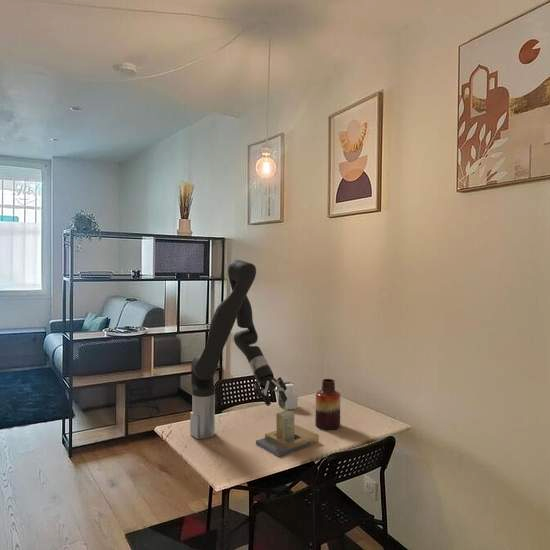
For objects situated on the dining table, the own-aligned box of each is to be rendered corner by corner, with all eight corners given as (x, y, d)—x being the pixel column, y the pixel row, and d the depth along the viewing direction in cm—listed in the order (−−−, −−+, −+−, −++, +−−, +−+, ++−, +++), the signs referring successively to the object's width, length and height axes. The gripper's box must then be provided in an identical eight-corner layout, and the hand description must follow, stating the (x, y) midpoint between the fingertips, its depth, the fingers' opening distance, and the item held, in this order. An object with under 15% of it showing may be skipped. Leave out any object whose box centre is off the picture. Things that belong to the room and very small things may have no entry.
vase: (328, 432, 188) (328, 385, 187) (310, 425, 196) (311, 379, 195) (345, 426, 195) (346, 381, 194) (327, 419, 203) (328, 375, 202)
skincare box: (287, 439, 181) (288, 409, 180) (294, 442, 177) (295, 412, 177) (275, 443, 177) (275, 412, 176) (282, 446, 173) (282, 415, 173)
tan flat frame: (278, 457, 165) (278, 449, 164) (255, 444, 175) (256, 436, 175) (318, 442, 178) (318, 435, 178) (295, 431, 189) (295, 424, 189)
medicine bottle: (278, 405, 221) (278, 382, 220) (291, 404, 224) (291, 380, 223) (284, 410, 214) (284, 386, 214) (297, 408, 217) (298, 384, 217)
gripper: (251, 366, 183) (268, 401, 174) (278, 362, 192) (295, 395, 183) (243, 376, 187) (259, 411, 178) (270, 371, 196) (286, 404, 187)
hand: (277, 402), depth 181 cm, fingers open, 8 cm apart
